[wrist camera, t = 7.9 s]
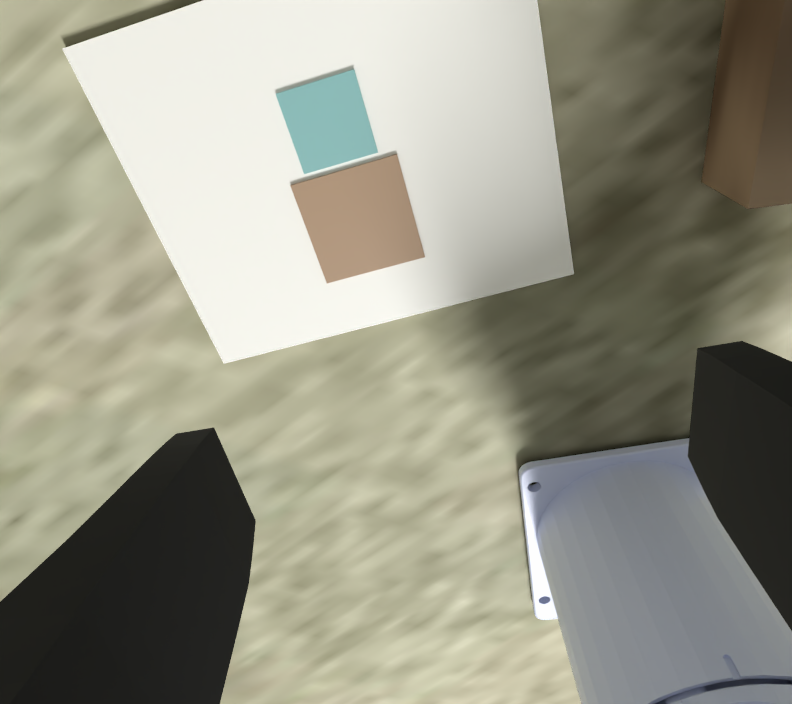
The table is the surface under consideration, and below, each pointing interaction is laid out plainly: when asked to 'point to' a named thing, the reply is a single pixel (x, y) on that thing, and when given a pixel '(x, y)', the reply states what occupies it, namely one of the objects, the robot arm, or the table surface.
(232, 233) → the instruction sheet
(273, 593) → the table surface
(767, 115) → the brown block
